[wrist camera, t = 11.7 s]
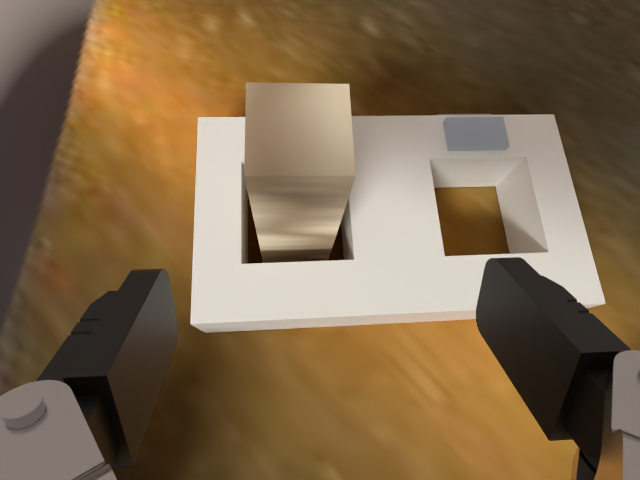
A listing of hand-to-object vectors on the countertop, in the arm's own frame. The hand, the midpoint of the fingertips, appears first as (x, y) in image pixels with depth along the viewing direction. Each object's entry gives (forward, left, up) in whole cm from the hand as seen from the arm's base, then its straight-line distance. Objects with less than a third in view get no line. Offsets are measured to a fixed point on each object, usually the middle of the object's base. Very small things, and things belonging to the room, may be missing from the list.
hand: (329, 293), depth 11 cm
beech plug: (0, -7, -15) cm, 17 cm away
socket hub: (-5, -7, -15) cm, 17 cm away
